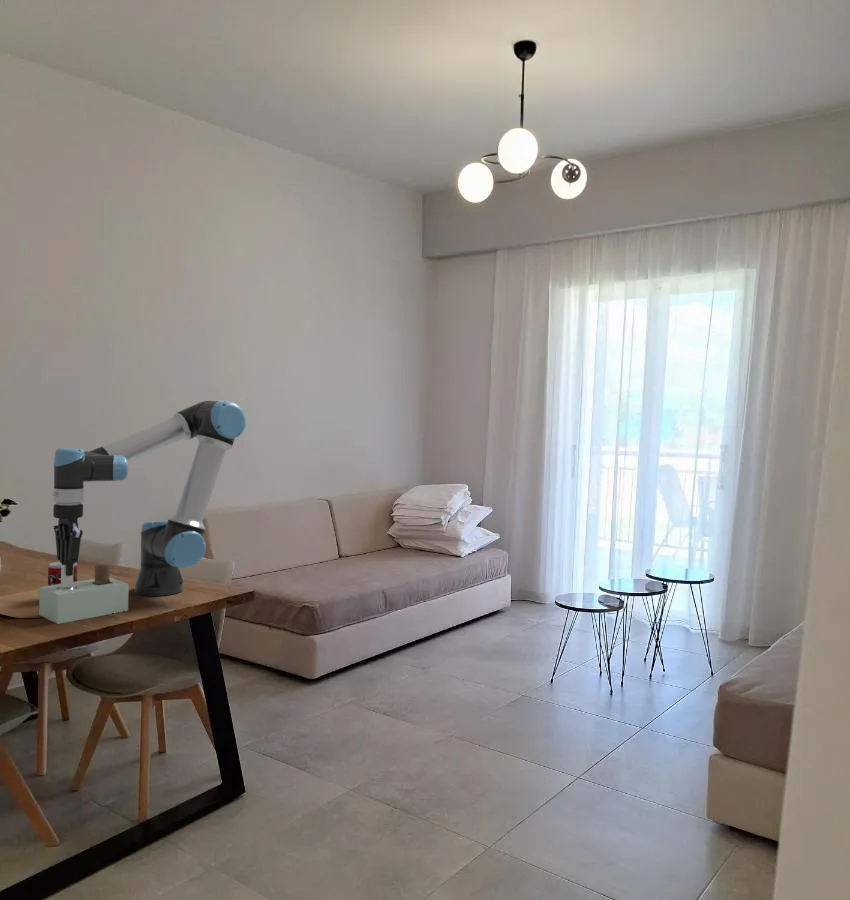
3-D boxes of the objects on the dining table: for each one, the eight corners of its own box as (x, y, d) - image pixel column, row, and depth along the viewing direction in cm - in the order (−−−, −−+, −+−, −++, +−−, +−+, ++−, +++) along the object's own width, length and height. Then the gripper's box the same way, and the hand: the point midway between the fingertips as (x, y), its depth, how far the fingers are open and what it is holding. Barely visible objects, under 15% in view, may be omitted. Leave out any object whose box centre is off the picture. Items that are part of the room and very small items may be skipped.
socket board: (108, 602, 221) (108, 576, 221) (128, 610, 213) (128, 583, 213) (39, 614, 206) (39, 586, 206) (57, 623, 198) (58, 594, 198)
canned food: (42, 600, 221) (42, 564, 221) (64, 594, 229) (65, 560, 228) (59, 603, 218) (60, 567, 218) (82, 598, 226) (82, 562, 225)
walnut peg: (105, 588, 216) (105, 563, 216) (111, 591, 213) (112, 566, 213) (91, 591, 213) (92, 565, 213) (98, 593, 210) (98, 567, 210)
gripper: (44, 501, 206) (43, 584, 207) (65, 506, 197) (63, 593, 198) (71, 500, 211) (70, 580, 212) (92, 504, 203) (91, 588, 204)
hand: (67, 586), depth 205 cm, fingers closed
